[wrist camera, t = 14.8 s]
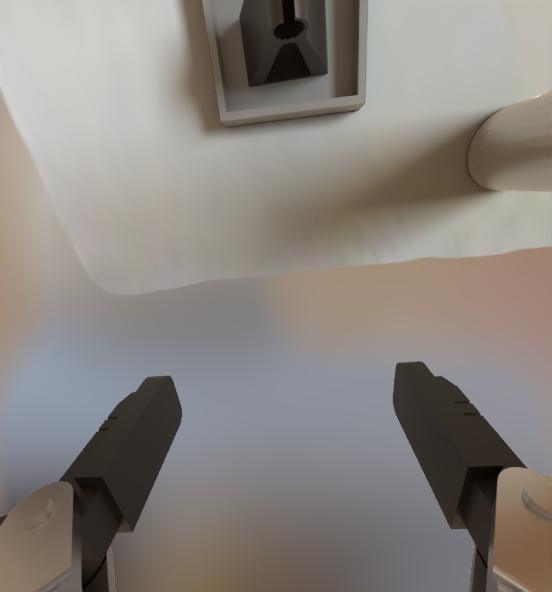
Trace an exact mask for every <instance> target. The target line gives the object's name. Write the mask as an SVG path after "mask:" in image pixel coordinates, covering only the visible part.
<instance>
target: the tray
mask: <svg viewBox="0 0 552 592" xmlns="http://www.w3.org/2000/svg"><path fill="white" fill-rule="evenodd" d="M243 1H244V0H202V5H203V11H204V18H205V24H206V31H207V37H208V44H209V50H210V57H211V63H212V70H213V76H214V83H215V89H216V95H217V102H218V108H219V115H220V121H221V123H223V124H224V125H225V126H226V127H230V126H238V125H246V124H254V123H262V122H270V121H278V120H286V119H294V118H301V117H309V116H317V115H325V114H333V113H341V112H349V111H357V110H359V109H360V108H361V107H362V106H363V105H364V104H365V99H366V61H367V24H368V0H325V6H326V31H327V56H328V73H327V74H325V75H319V76H313V77H307V78H301V79H295V80H290V81H289V80H287V81H284V82H278V83H272V84H266V85H260V86H254V87H249V85H248V78H247V70H246V63H245V56H244V48H243V41H242V34H241V26H240V19H239V15H240V12H241V8H242V5H243Z"/></svg>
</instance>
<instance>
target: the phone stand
mask: <svg viewBox="0 0 552 592" xmlns="http://www.w3.org/2000/svg"><path fill="white" fill-rule="evenodd" d="M239 19H240V26H241V34H242V41H243V48H244V56H245V63H246V70H247V78H248V85H249V87H254V86H260V85H266V84H272V83H278V82H284V81H287V80H289V81H290V80H295V79H301V78H307V77H313V76H319V75H325V74H327V73H328V56H327V31H326V6H325V0H244V1H243V5H242V8H241V12H240V15H239Z"/></svg>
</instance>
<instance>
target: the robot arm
mask: <svg viewBox="0 0 552 592" xmlns="http://www.w3.org/2000/svg"><path fill="white" fill-rule="evenodd" d="M468 169H469V172H470V175H471V177H472V178H473V180H474V181H475V182H476V183H477V184H478V185H480V186H481V187H483V188H486V189H490V190H512V191H551V192H552V91H551V92H548V93H545V94H542V95H539V96H536V97H533V98H530V99H528V100H525V101H522V102H519V103H517V104H514V105H511V106H508V107H505V108H503V109H501V110H500V111H498V112H496V113H495V114H493V115H492V116H491V117H490V118H488V119H487V120H486V121H485V122H484V124H483V125H482V126H481V127H480V128H479V130H478V131H477V133H476V134H475V136H474V138H473V140H472V143H471V145H470V149H469V152H468ZM393 404H394V409H395V413H396V416H397V417H398V420H399V422H400V424H401V426H402V428H403V430H404V432H405V434H406V437H407V439H408V440H409V443H410V445H411V447H412V449H413V451H414V453H415V455H416V457H417V459H418V461H419V464H420V466H421V467H422V470H423V472H424V474H425V476H426V478H427V480H428V482H429V484H430V486H431V488H432V491H433V493H434V495H435V497H436V499H437V501H438V503H439V505H440V507H441V509H442V511H443V513H444V516H445V518H446V520H447V522H448V524H449V526H450V528H451V529H468V531H469V533H470V535H471V537H472V539H473V541H474V543H475V544H474V548H473V557H472V565H471V575H470V584H469V592H552V479H551V478H549V477H547V476H545V475H543V474H541V473H539V472H536V471H533V470H530V469H528V468H527V467H526V466H525V465H524V464H523V463H522V462H521V460H520V459H519V458H518V457H517V456H516V455H515V454H514V452H513V451H512V450H511V449H510V448H509V446H508V445H507V444H506V443H505V442H504V440H502V438H501V437H500V436H499V435H498V433H497V432H496V431H495V430H494V429H493V428H492V427H491V425H490V424H489V423H488V422H487V421H486V419H484V417H483V416H481V415H480V413H479V411H478V410H477V409H476V408H475V407H474V405H473V404H470V401H469V400H468V398H467V397H466V396H465V395H464V394H463V393H462V391H461V390H460V389H459V388H458V387H457V386H455V385H454V384H452V383H451V382H449V381H448V380H447V379H445V378H443V377H442V376H438V377H434V375H433V374H432V373H431V372H430V370H429V369H428V368H427V367H426V365H425V364H424V363H423V362H403V363H397V365H396V370H395V380H394V391H393ZM181 418H182V408H181V404H180V401H179V398H178V395H177V392H176V389H175V386H174V382H173V380H172V378H171V377H170V376H155V377H147V378H146V379H145V380H144V381H143V383H142V384H141V385H140V387H139V388H138V390H137V391H136V392H133V393H131V394H130V395H128V396H127V397H126V398H125V399H124V400H122V401H121V402H120V403H119V404H118V405H117V406H116V407H115V409H114V410H113V412H111V414H110V415H109V417H108V420H105V422H104V423H103V424H102V426H101V427H100V428H99V431H98V432H96V433H95V435H94V436H93V437H92V439H91V440H90V441H89V443H88V444H87V445H86V446H85V448H84V449H83V451H82V452H81V453H80V454H79V456H78V457H77V458H76V460H75V461H74V462H73V463H72V465H71V466H70V467H69V469H68V470H67V471H66V473H65V474H64V475H63V477H62V478H61V479H60V480H59V481H57V482H53V483H50V484H48V485H45V486H43V487H41V488H39V489H38V490H36V491H34V492H33V493H32V494H30V495H28V496H27V497H26V498H25V499H23V500H22V501H21V502H20V503H19V504H18V505H17V506H16V507H15V508H14V509H13V510H12V511H11V512H10V513H9V514H8V515H6V516H3V517H0V592H115V582H114V569H113V557H112V550H111V547H110V544H111V542H112V540H113V538H114V536H115V534H116V533H117V532H133V530H134V528H135V526H136V523H137V521H138V519H139V517H140V514H141V512H142V510H143V508H144V505H145V503H146V501H147V498H148V496H149V494H150V492H151V489H152V487H153V485H154V482H155V480H156V478H157V476H158V474H159V471H160V469H161V467H162V464H163V462H164V460H165V458H166V455H167V453H168V451H169V449H170V446H171V444H172V442H173V439H174V437H175V435H176V433H177V430H178V428H179V426H180V423H181Z"/></svg>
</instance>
